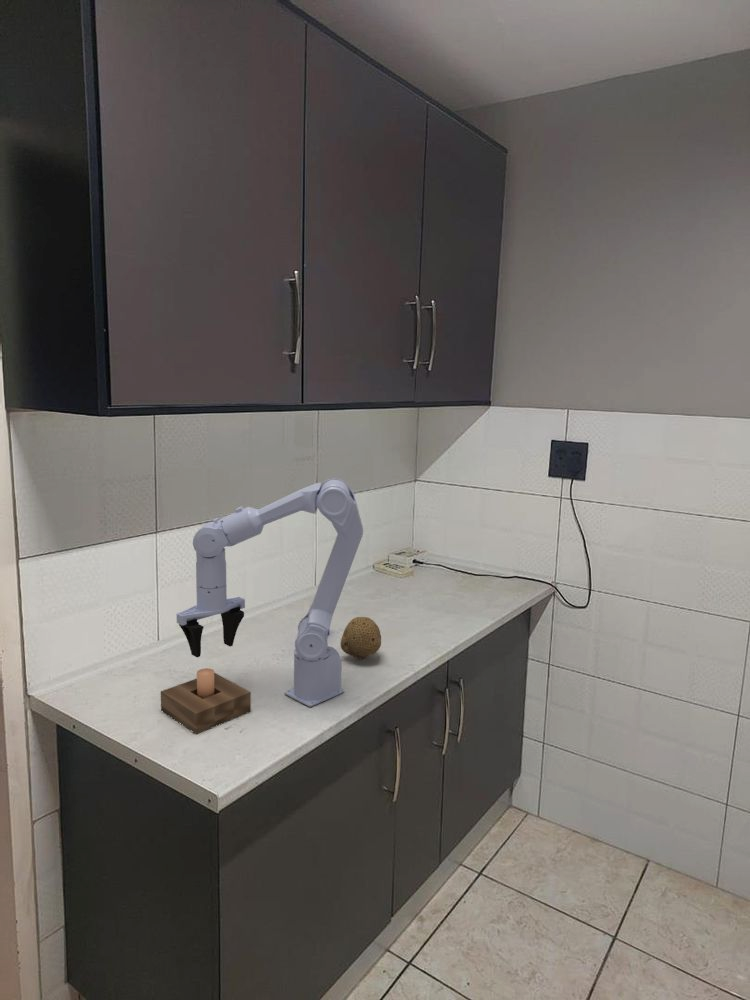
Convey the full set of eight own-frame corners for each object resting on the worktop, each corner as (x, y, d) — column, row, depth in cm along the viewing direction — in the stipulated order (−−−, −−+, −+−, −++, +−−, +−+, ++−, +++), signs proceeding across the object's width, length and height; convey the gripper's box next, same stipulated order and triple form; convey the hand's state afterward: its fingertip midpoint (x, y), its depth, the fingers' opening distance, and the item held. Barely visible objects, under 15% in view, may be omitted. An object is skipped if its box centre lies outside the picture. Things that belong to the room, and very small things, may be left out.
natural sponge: (389, 661, 156) (391, 619, 154) (359, 671, 150) (361, 628, 148) (364, 648, 163) (365, 608, 161) (334, 657, 157) (335, 616, 155)
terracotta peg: (208, 700, 133) (207, 666, 132) (217, 706, 131) (217, 672, 129) (194, 706, 131) (193, 671, 129) (203, 712, 128) (203, 677, 127)
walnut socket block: (214, 690, 139) (214, 672, 138) (250, 711, 131) (250, 692, 130) (161, 710, 130) (160, 691, 130) (196, 734, 123) (196, 713, 122)
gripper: (230, 572, 141) (230, 634, 144) (167, 587, 131) (169, 654, 133) (251, 580, 137) (251, 644, 139) (187, 596, 126) (189, 665, 129)
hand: (212, 650), depth 136 cm, fingers open, 7 cm apart
